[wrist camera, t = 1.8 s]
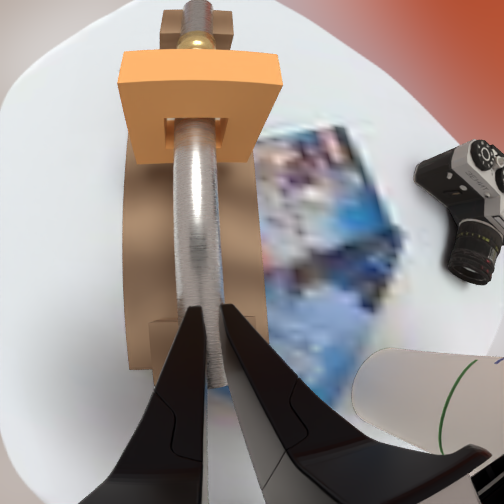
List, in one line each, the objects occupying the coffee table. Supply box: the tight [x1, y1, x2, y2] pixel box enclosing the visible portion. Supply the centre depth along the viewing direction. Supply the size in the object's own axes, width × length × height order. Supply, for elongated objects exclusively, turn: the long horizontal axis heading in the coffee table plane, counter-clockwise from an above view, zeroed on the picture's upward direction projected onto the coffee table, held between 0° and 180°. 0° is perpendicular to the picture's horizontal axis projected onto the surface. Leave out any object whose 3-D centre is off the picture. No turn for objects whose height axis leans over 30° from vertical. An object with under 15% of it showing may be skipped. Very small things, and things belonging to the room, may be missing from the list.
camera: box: [413, 139, 504, 285], centre depth 25 cm, size 15×11×10 cm
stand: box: [122, 10, 269, 386], centre depth 20 cm, size 25×10×8 cm, turn 5°
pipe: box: [173, 0, 228, 389], centre depth 16 cm, size 24×2×2 cm, turn 5°
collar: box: [117, 49, 283, 164], centre depth 16 cm, size 2×7×8 cm, turn 94°
